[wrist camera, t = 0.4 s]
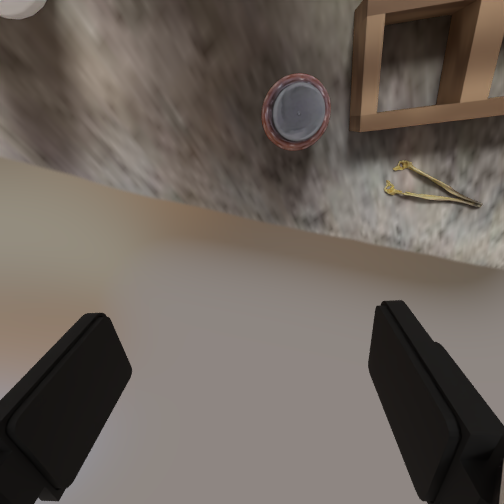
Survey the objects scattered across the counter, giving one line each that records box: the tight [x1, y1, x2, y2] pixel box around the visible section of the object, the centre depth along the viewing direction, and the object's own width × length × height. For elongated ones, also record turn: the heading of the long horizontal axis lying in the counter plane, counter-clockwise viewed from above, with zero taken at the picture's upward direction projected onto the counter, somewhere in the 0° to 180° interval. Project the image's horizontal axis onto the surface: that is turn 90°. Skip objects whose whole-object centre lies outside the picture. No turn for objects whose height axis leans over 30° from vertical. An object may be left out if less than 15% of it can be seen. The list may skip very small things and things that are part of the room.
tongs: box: [384, 160, 483, 207], centre depth 32 cm, size 4×13×2 cm, turn 78°
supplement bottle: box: [262, 73, 331, 151], centre depth 25 cm, size 6×6×11 cm
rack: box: [349, 0, 504, 132], centre depth 25 cm, size 11×21×4 cm, turn 97°
